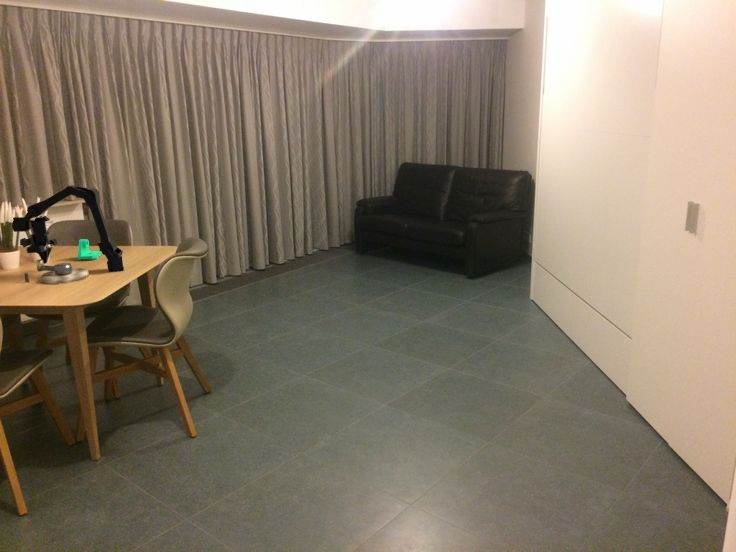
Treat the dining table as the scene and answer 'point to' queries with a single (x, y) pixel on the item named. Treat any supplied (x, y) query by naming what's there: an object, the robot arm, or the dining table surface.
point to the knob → (55, 267)
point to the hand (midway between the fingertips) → (45, 263)
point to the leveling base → (61, 276)
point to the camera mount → (86, 250)
